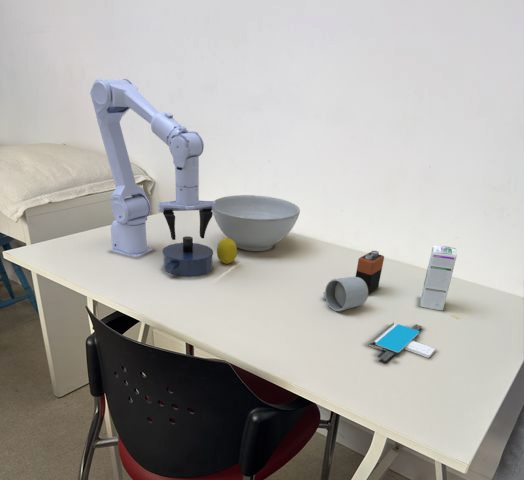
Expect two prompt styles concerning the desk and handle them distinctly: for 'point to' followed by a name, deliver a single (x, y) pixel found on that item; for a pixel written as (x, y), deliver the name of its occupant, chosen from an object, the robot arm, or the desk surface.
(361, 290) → the ceramic mug
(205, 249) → the pot lid
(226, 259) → the lemon
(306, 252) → the desk surface
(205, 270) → the pot
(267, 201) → the decorative bowl
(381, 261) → the battery
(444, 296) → the syrup box
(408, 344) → the blue flat gadget
